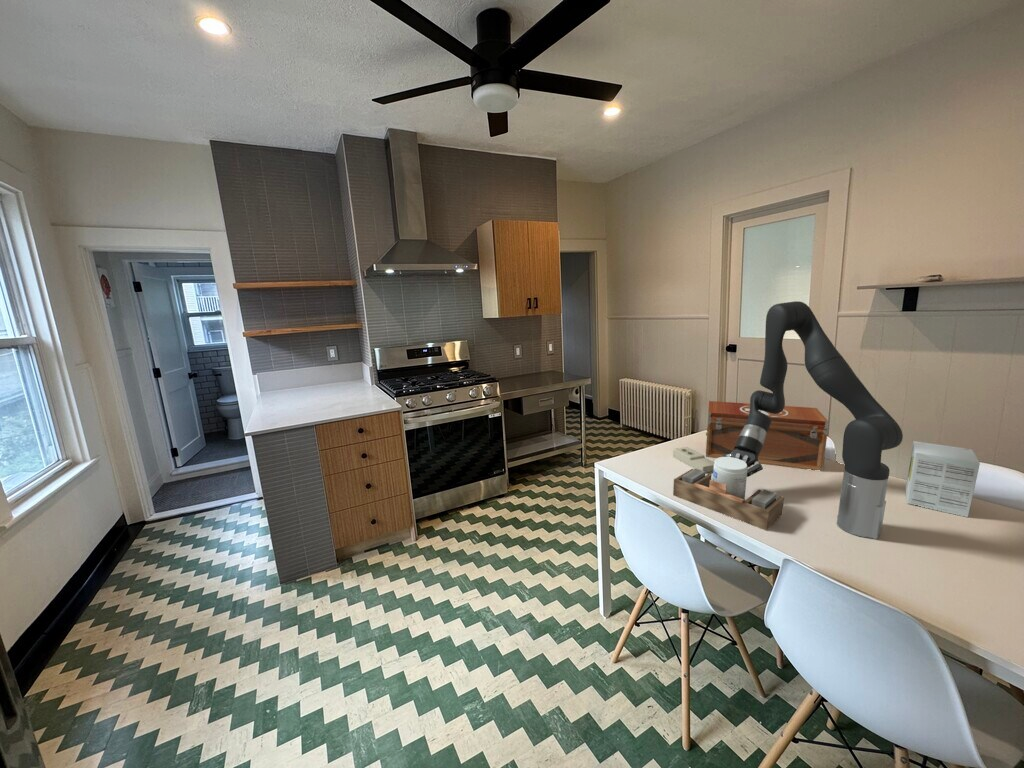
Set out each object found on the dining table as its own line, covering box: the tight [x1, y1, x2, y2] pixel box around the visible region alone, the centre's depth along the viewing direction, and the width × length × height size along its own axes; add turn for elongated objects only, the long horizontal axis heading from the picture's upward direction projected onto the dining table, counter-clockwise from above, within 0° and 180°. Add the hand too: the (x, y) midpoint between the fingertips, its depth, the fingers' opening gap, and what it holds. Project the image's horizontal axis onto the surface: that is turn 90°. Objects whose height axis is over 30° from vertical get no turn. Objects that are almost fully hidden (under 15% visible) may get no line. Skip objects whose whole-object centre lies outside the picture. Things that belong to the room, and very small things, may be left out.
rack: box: [672, 468, 785, 531], centre depth 127 cm, size 29×13×10 cm, turn 38°
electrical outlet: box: [672, 446, 715, 474], centre depth 160 cm, size 7×4×18 cm
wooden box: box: [705, 400, 830, 472], centre depth 163 cm, size 20×41×20 cm, turn 62°
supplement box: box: [905, 440, 981, 518], centre depth 121 cm, size 13×13×18 cm
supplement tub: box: [712, 457, 748, 501], centre depth 126 cm, size 10×10×15 cm
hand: (732, 484), depth 130 cm, fingers closed
